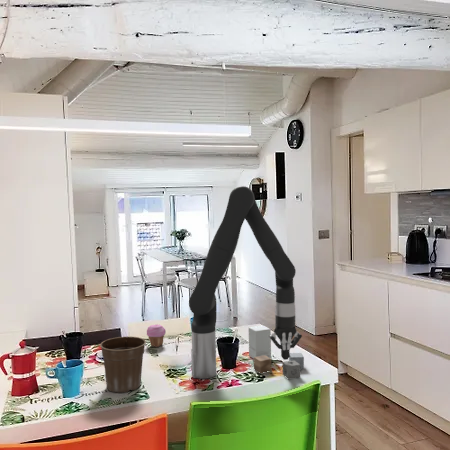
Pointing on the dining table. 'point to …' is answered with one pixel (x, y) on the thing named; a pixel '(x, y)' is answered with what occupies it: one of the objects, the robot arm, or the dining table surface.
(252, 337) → the supplement box
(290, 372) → the dice cube
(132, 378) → the plant pot
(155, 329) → the cupcake
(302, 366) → the slate block
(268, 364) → the walnut block
